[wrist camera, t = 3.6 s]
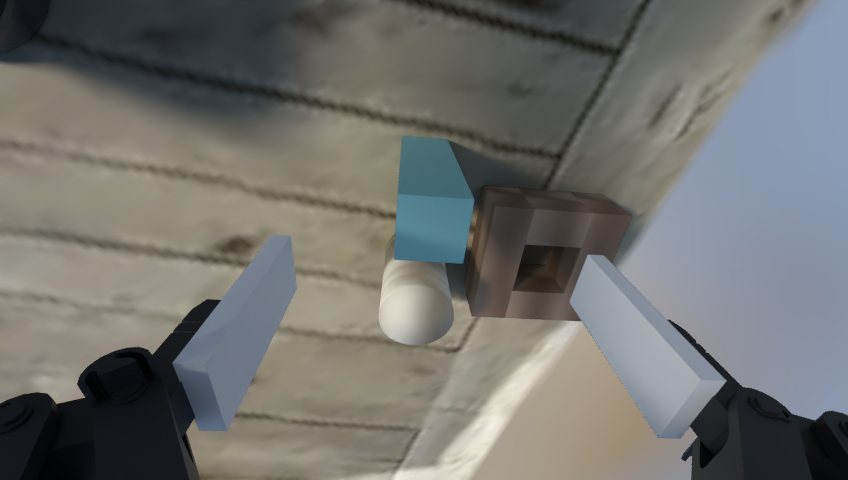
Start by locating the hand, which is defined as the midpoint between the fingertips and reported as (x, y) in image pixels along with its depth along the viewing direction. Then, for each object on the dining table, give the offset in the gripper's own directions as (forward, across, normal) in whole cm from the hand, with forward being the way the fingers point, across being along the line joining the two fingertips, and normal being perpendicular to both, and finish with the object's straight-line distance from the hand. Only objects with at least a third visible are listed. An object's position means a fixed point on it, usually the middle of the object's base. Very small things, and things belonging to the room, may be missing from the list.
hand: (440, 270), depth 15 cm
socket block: (+18, +12, -8) cm, 23 cm away
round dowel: (+18, 0, -10) cm, 20 cm away
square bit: (+18, 0, 0) cm, 18 cm away
